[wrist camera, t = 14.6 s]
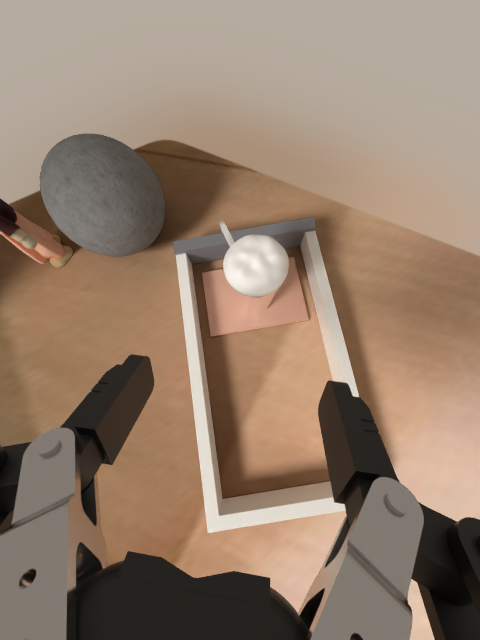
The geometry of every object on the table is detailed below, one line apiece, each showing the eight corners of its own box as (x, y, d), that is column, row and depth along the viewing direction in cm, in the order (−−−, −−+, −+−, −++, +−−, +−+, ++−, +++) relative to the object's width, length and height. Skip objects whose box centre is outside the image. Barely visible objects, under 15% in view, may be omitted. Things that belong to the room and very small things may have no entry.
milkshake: (247, 265, 25) (245, 198, 15) (285, 298, 24) (308, 247, 14) (217, 295, 24) (195, 245, 15) (255, 329, 23) (258, 300, 14)
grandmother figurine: (23, 250, 27) (-169, 148, 15) (46, 225, 28) (-121, 106, 15) (71, 283, 26) (-93, 204, 13) (94, 256, 26) (-44, 156, 14)
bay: (213, 513, 21) (206, 537, 18) (181, 256, 26) (172, 241, 23) (371, 487, 20) (391, 507, 17) (306, 234, 26) (313, 216, 23)
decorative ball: (149, 287, 25) (86, 235, 16) (75, 251, 27) (-25, 182, 17) (193, 213, 27) (161, 124, 17) (122, 183, 28) (55, 85, 19)
